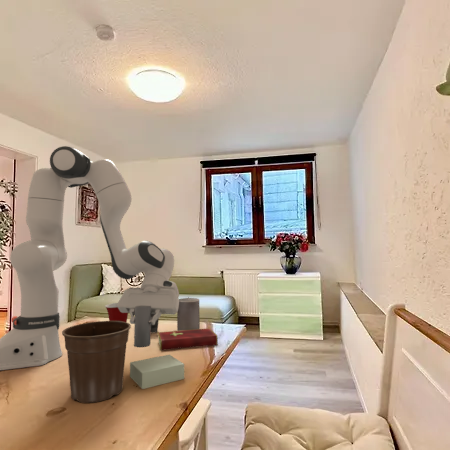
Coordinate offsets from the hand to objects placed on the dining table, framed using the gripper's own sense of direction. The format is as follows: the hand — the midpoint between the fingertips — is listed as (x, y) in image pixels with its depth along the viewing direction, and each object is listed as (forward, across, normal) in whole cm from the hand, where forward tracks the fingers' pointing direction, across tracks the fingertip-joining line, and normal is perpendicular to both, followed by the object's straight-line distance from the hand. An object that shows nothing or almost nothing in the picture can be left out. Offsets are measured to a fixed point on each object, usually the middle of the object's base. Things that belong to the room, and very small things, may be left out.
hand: (141, 323), depth 106 cm
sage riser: (+16, +9, +2) cm, 18 cm away
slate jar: (+4, 0, +5) cm, 7 cm away
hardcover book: (-8, +8, +26) cm, 28 cm away
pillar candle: (-20, +4, +38) cm, 43 cm away
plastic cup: (-18, -27, +36) cm, 48 cm away
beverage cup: (-18, -12, +36) cm, 42 cm away
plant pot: (+24, -2, -6) cm, 25 cm away
